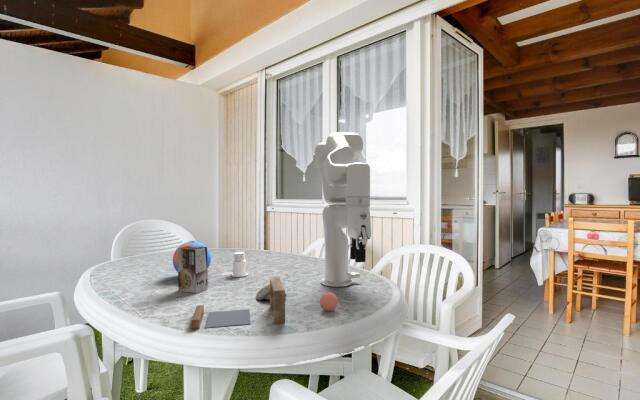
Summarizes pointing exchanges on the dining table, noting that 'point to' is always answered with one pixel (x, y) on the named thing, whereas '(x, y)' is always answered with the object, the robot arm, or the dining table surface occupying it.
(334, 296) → the ball
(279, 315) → the bridge
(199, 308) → the strip
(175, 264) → the treat dispenser ball
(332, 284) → the robot arm
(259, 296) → the fossilized seashell
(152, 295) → the dining table surface
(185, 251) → the coffee box
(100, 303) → the dining table surface
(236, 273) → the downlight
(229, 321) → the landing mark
